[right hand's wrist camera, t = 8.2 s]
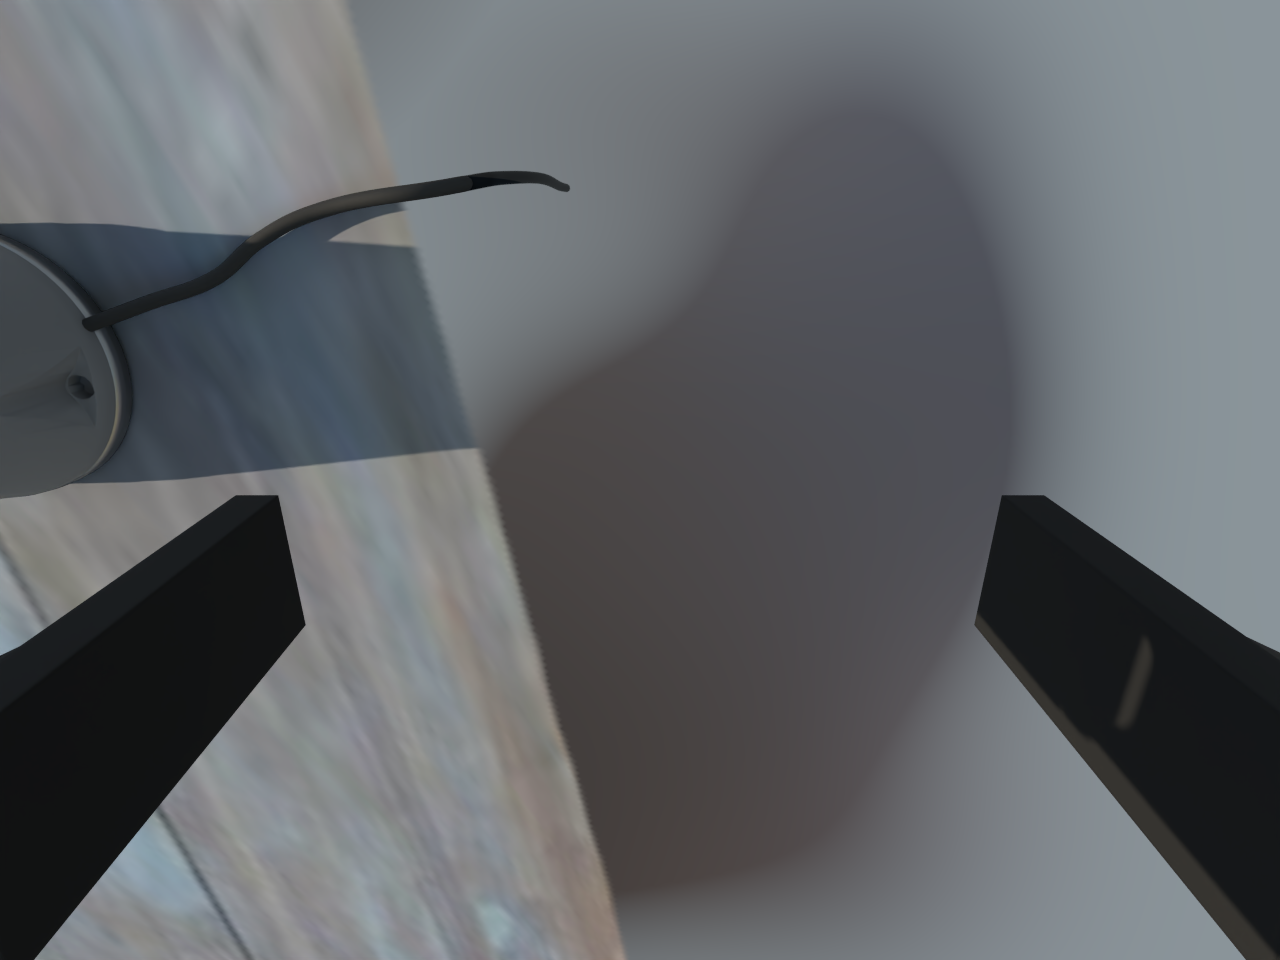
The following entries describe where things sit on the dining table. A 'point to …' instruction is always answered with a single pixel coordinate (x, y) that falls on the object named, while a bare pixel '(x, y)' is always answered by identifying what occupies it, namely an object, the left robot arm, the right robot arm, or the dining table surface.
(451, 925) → the dining table surface
